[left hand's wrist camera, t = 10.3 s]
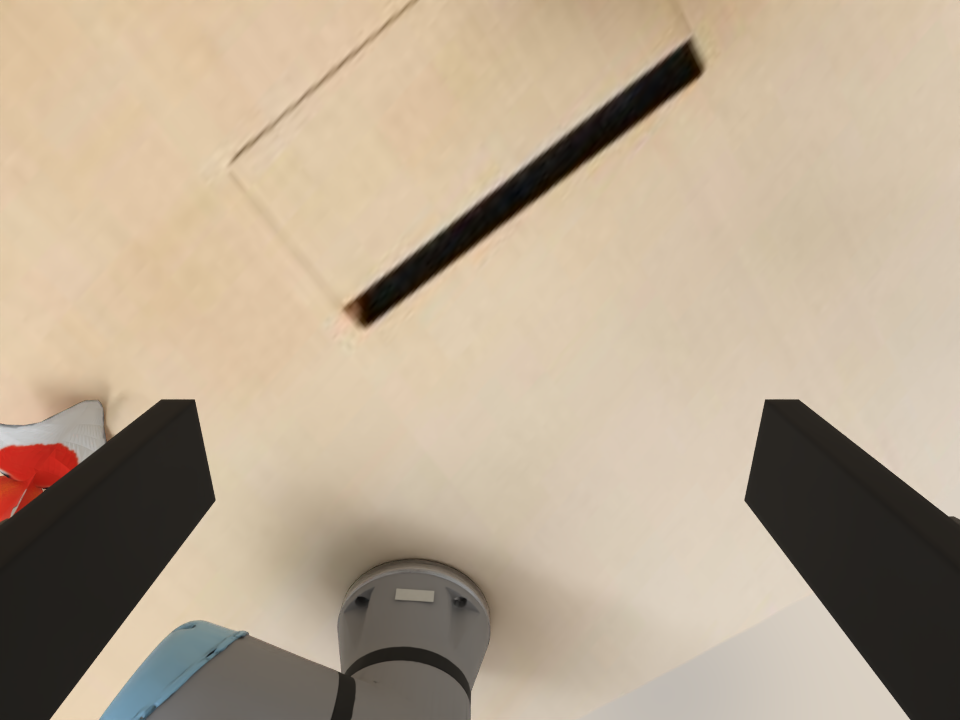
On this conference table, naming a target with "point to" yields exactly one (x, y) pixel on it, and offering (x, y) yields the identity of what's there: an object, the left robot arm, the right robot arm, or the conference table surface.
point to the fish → (46, 452)
